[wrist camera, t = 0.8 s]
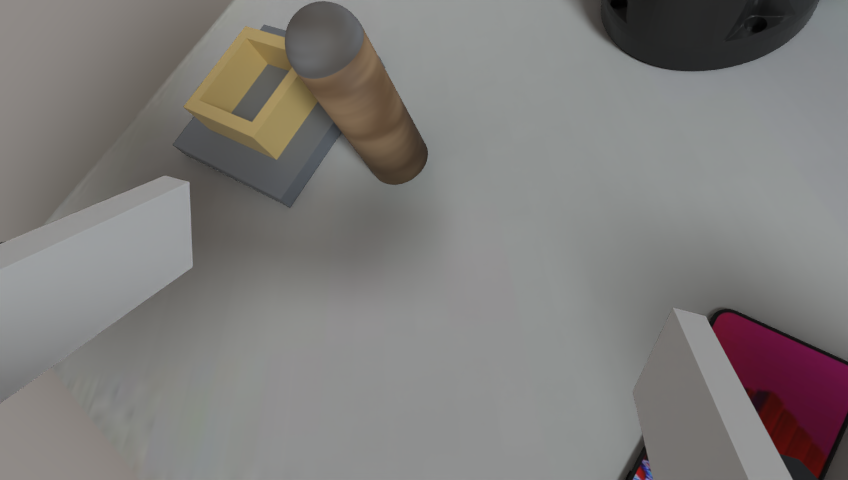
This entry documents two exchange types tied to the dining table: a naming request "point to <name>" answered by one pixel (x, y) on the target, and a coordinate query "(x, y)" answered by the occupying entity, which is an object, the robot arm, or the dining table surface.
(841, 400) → the smartphone
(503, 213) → the dining table surface
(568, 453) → the dining table surface
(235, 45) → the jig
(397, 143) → the grey-capped wooden peg
